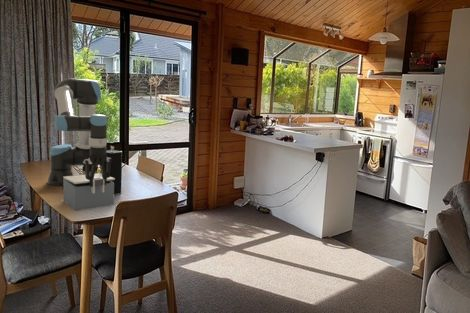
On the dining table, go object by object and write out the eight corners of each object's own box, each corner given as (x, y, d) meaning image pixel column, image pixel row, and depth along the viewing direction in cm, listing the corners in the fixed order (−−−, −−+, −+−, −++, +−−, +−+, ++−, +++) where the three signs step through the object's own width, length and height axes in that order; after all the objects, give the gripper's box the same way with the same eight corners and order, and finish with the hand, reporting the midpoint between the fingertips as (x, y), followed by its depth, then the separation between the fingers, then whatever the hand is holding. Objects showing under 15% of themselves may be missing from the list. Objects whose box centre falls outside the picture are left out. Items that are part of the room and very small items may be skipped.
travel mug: (98, 190, 220) (98, 160, 216) (95, 194, 212) (95, 163, 208) (84, 189, 219) (84, 160, 215) (80, 193, 211) (80, 162, 207)
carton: (63, 200, 198) (63, 178, 195) (100, 195, 211) (101, 175, 208) (74, 210, 184) (74, 187, 182) (113, 204, 197) (114, 183, 195)
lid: (63, 180, 195) (63, 174, 195) (101, 176, 208) (101, 171, 208) (78, 187, 178) (78, 181, 177) (118, 183, 191) (118, 177, 190)
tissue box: (110, 196, 211) (111, 147, 206) (101, 193, 215) (102, 145, 210) (121, 193, 218) (122, 146, 213) (112, 190, 222) (113, 144, 217)
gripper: (83, 148, 174) (82, 196, 178) (118, 146, 185) (117, 192, 189) (77, 145, 179) (77, 192, 184) (112, 144, 190) (111, 188, 195)
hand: (97, 192), depth 186 cm, fingers closed on lid, 4 cm apart
